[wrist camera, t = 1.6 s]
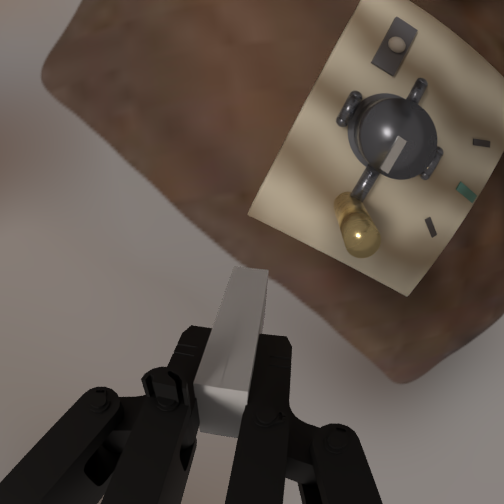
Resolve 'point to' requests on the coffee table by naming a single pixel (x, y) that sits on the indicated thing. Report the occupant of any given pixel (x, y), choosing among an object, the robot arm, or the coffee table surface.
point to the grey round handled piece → (384, 157)
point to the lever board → (353, 164)
